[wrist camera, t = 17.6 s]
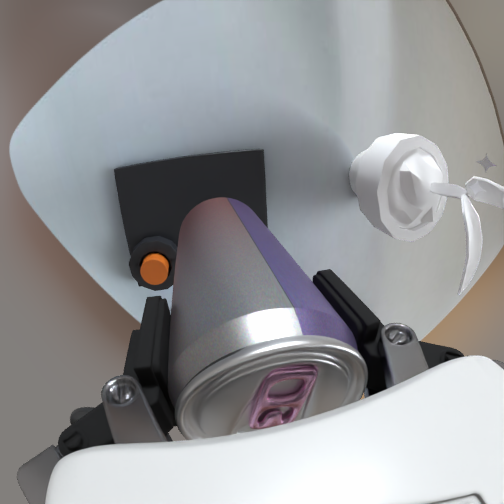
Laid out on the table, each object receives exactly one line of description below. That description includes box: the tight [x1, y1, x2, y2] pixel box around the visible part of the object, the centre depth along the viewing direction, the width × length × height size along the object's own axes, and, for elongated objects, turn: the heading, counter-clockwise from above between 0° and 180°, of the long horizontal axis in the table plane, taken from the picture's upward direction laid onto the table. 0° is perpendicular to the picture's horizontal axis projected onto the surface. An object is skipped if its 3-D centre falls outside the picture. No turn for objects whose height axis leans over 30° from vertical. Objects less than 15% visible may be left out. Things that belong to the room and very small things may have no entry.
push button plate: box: [114, 149, 268, 291], centre depth 29 cm, size 16×14×3 cm
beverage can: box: [168, 197, 368, 440], centre depth 13 cm, size 6×6×15 cm
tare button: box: [140, 253, 169, 285], centre depth 28 cm, size 3×3×2 cm
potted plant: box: [349, 133, 504, 296], centre depth 21 cm, size 13×12×25 cm
